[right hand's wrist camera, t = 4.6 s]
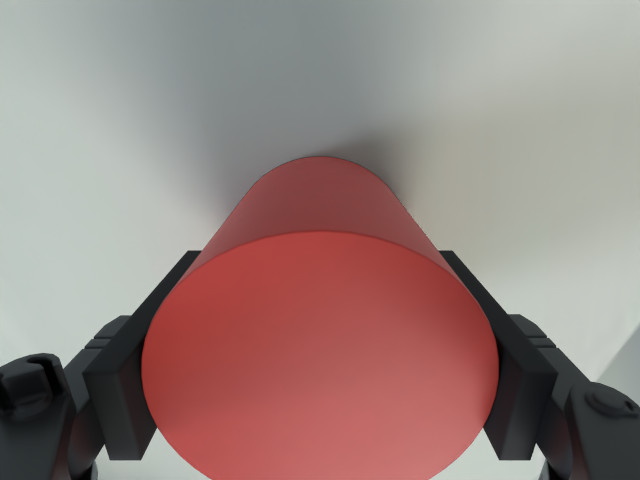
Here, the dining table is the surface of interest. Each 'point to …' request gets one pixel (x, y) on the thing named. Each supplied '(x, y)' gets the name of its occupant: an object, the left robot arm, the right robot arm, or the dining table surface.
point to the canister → (320, 339)
